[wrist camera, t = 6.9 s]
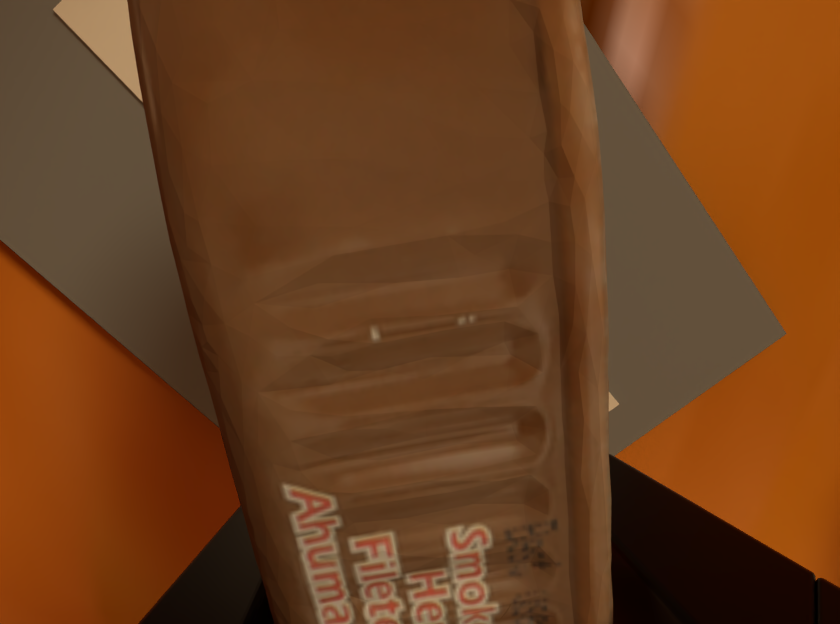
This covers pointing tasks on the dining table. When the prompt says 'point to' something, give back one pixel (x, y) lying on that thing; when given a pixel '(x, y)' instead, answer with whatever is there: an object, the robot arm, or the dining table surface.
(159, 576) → the dining table surface
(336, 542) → the tin
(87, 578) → the dining table surface
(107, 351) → the dining table surface
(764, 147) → the dining table surface
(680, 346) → the mat
